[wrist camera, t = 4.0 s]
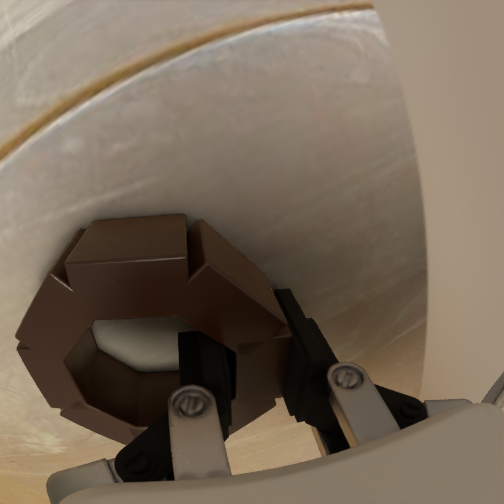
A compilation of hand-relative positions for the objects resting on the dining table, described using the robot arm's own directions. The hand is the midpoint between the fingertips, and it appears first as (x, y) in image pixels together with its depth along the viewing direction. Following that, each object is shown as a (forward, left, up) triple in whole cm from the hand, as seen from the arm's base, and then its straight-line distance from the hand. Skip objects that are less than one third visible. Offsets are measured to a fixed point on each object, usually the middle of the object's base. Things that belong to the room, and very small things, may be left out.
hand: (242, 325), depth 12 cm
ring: (+3, 0, 0) cm, 3 cm away
